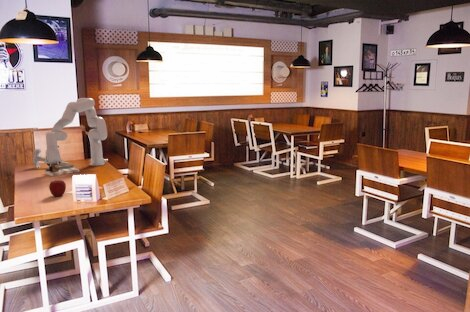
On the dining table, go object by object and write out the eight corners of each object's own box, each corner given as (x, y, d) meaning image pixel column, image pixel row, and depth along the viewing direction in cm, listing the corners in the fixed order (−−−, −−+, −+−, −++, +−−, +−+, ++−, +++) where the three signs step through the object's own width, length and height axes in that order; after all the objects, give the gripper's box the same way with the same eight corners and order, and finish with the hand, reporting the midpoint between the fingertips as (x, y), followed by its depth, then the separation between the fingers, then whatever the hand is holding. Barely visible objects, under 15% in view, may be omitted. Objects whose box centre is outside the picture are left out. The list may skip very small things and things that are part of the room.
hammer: (70, 156, 331) (36, 148, 332) (67, 157, 326) (33, 149, 327) (67, 173, 334) (34, 165, 335) (65, 174, 329) (31, 166, 330)
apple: (64, 192, 249) (62, 177, 248) (68, 195, 242) (67, 180, 240) (48, 195, 243) (46, 180, 242) (52, 198, 236) (51, 182, 234)
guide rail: (73, 167, 321) (72, 164, 321) (73, 167, 320) (73, 165, 320) (45, 171, 306) (45, 169, 305) (46, 171, 305) (45, 169, 305)
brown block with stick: (55, 170, 310) (55, 163, 308) (61, 172, 302) (60, 164, 301) (50, 171, 307) (49, 163, 306) (55, 173, 299) (55, 165, 298)
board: (73, 169, 322) (72, 167, 321) (79, 171, 314) (79, 169, 313) (45, 173, 306) (45, 171, 306) (51, 176, 298) (51, 173, 298)
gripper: (61, 146, 311) (63, 168, 315) (39, 148, 300) (41, 171, 303) (64, 147, 306) (67, 169, 310) (42, 149, 295) (45, 173, 298)
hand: (54, 170), depth 306 cm, fingers closed on brown block with stick, 4 cm apart
